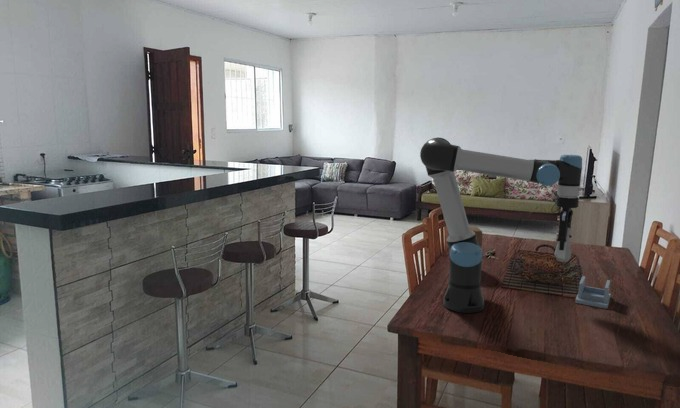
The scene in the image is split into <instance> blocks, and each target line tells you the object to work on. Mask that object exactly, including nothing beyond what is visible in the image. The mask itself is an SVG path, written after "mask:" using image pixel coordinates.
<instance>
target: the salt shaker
mask: <svg viewBox="0 0 680 408" xmlns="http://www.w3.org/2000/svg"><path fill="white" fill-rule="evenodd" d="M569 234H570V235H571V234H572V228H571V229H570V228H568V230H567V237H566V242H567V243H566V254H565V259H563V258H557V252H558V243H556V244H557V245H556V246H555V251H554V254H553V255H554V256H555V259H556V262H557V261H558V262H560V263H567V262H569V260H570V259H571V257H572V250H571V241H570V238H569Z"/></svg>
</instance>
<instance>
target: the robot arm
mask: <svg viewBox="0 0 680 408" xmlns="http://www.w3.org/2000/svg"><path fill="white" fill-rule="evenodd" d="M419 153H420V154H419V157H420V161H421V163H422V164H423V166H425V170H426V173H427V176H428V177H430V178H431V179H432V180H433V184H434V187H435V190H436V193H437V197H438V198H437V199H438V200H439V204H440V208H441V212H442V215H443V219H444V222H445V225H446V230H447V232H448V236H447V238H446V243H447V247H448V250H449V272H448V286H447V289H446V291H445V294H444V296H443V300H442V301H443V303H442V304H443V306H444V307H445V308H446V309H448V310H450V311H453V312H457V313H461V314H462V313H463V314H474V313H480V312H482V311H483V310H484V309H485V300H484V296H483V292H482V289H481V288H482V287H481V280H482V263H483V262H482V261H483V257H484V256H483V255H484V254H483V249H482V248H480V246H479V244H478V242H477V238H476V234H475V232H473V231H471V230H470V227H469V226H470V224H469V221H468V217H467V214H466V209H465V207H464V203H463V200H462V196H461V192H460V189H459V185H458V182H457V177H456V174H455V172H456V171H464V172H470V173H475V174H476V173H477V174H481V175H488V176H493V177H500V178H506V179H512V180H519V181H525V182H530V183H535V184H539V185H542V186H545V187H546V186H547V187H550V186H553V185H555V184H557V190H556V194H557V197H556V203H555V204H556V206H557V207H558V208H561V209H562V210H561V211H560V212H559V225H558V233H557V234H558V235H557V237H558V238H556V241H557V244H558V252H557V258H563V259H565V254H566V243H567V242H566V237H567V230H568V228H570V229H571V230H572V220H573V215H574V214H573V213H574V212H573V209H578V207H579V202H580V198H579V196H580V192H582V190H583V189H582V188H581V180H582V171H583V158H582V156H581V155H578V154H562V155H560V157H559V159H556V160H555V159H536V158H535V159H524V158H519V157H513V156H505V155H500V154H495V153H494V154H493V153H488V152H487V153H486V152H480V151H475V150H469V149H462V148H461V146H460V145H457V144H452V143H450V142H449V140H448V139H445V138H444V137H433V138H431V139H429V140H427V141H426V142H425V143H424V144H423V145H422V147H421V149H420V152H419ZM570 238H572V235H571V234H569V239H570Z"/></svg>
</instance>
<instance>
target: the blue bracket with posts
mask: <svg viewBox="0 0 680 408" xmlns="http://www.w3.org/2000/svg"><path fill="white" fill-rule="evenodd" d="M585 284H586V276H584V275H581V279H580V281H579V284H578V293H577V295H576V297H575V301H574V303H575V304H579V305H586V306H588V307H589V306H591V307H595V308H599V309H600V308H601V309H604V310H605V309H606V310H608V307H609V304H610V300H611V297H612V296H611V293H610V284H611V280H610V279H607V280H606V282H605V286H604V288H600V287H594V286H587V285H585Z"/></svg>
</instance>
